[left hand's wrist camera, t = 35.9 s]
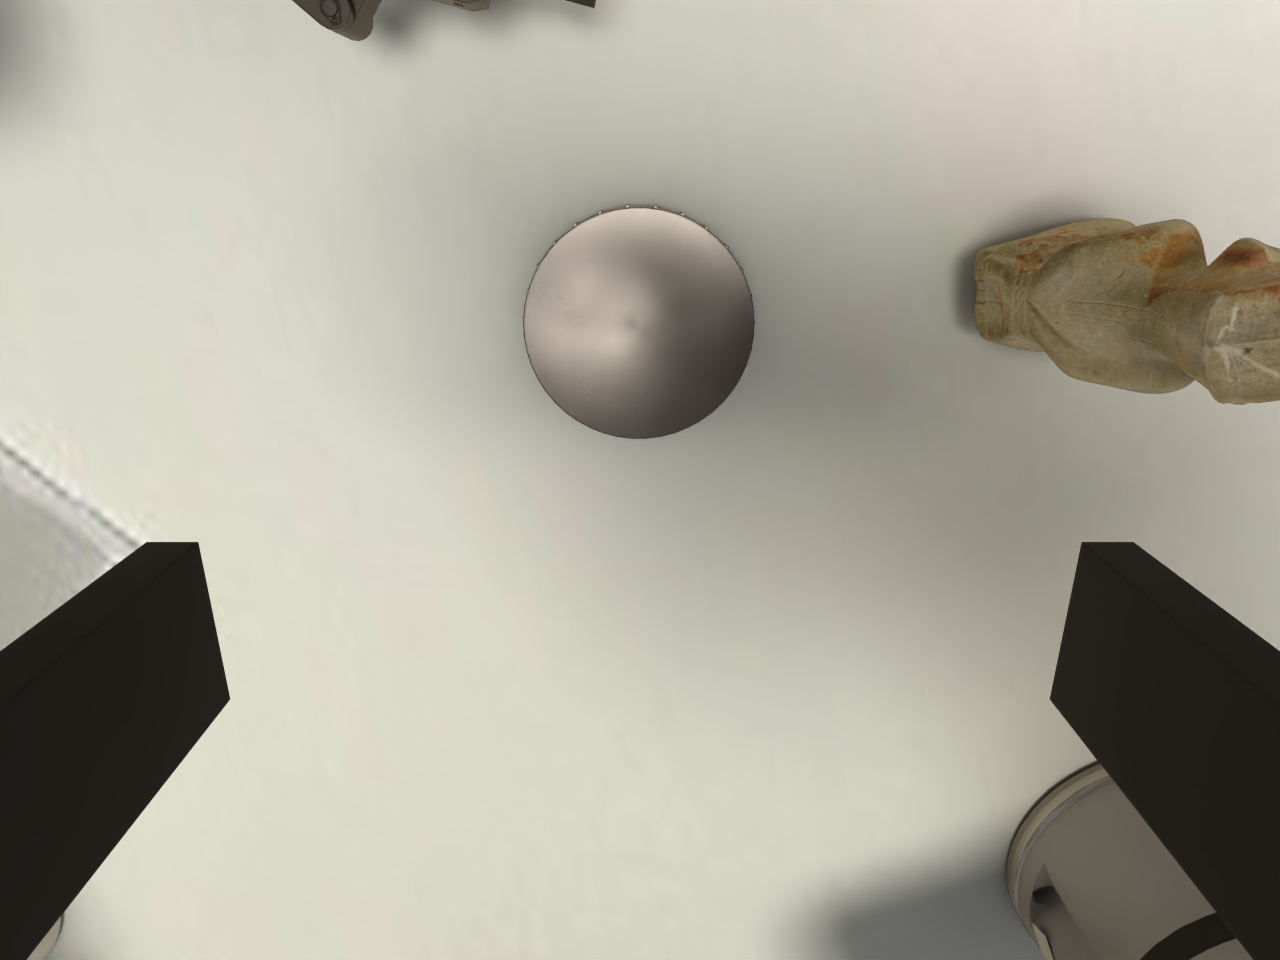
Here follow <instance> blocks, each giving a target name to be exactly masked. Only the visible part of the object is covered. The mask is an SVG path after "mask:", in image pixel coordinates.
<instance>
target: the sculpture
mask: <svg viewBox="0 0 1280 960" xmlns="http://www.w3.org/2000/svg"><path fill="white" fill-rule="evenodd" d="M974 279H975V281H976V282H977V291H976V303H975V306H974V314H975V323H976V328H977V329H978V330H979V332H980V335H981V336H982V337H983V338H984V339H986V340H988V341H991V342H994V343H998V344H1002V345H1005V346H1009V347H1013V348H1018V349H1024V350H1031V351H1045V352H1046V354H1047V355H1048V356H1049V357H1050V358H1051V359H1052V361H1053V362H1054V363H1055V364H1056V365H1057V366H1058V367H1059V368H1060V369H1061V370H1062V371H1063V372H1064V373H1065V374H1066V375H1068V376H1070V377H1073V378H1075V379H1079V380H1082V381H1086V382H1091V383H1096V384H1102V385H1106V386H1111V387H1115V388H1120V389H1125V390H1129V391H1134V392H1141V393H1149V394H1162V393H1170V392H1173V391H1177V390H1180V389H1182V388H1184V387H1186V386H1188V385H1189V384H1190V383H1192V382H1193V381H1194V380H1196V381H1198V382H1199V383H1201V384H1202V385H1203V386H1204V387H1206V388H1207V389H1208V390H1209V391H1210V393H1211V394H1212V396H1213V398H1214V399H1215V400H1216V401H1218V402H1220V403H1223V404H1224V403H1231V404H1238V405H1243V404H1247V403H1262V402H1270V401H1277V400H1280V249H1278V248H1275V247H1272V246H1268V245H1266V244H1264V243H1262V242H1260V241H1258V240H1255V239H1252V238H1242V239H1239V240H1237V241H1235V242H1234V243H1233V244H1231V245H1230V246H1229V247H1228V248H1227V249H1226V250H1225V251H1224V252H1223V253H1222V254H1221V255H1219V256H1218V257H1217V258H1216V259H1215V260H1214V261H1213V262H1212V263H1211V264H1210V265H1209V266H1207V263H1206V258H1205V253H1204V248H1203V243H1202V239H1201V237H1200V234H1199V232H1198V230H1197V229H1196V227H1195V226H1194V225H1193V224H1191V223H1190V222H1187V221H1185V220H1180V219H1174V220H1167V221H1161V222H1156V223H1151V224H1145V225H1141V226H1135V225H1133V224H1132V223H1130V222H1127V221H1124V220H1121V219H1108V218H1107V219H1091V220H1085V221H1079V222H1074V223H1070V224H1066V225H1063V226H1059V227H1055V228H1052V229H1049V230H1046V231H1043V232H1040V233H1037V234H1034V235H1031V236H1028V237H1025V238H1021V239H1018V240H1014V241H1010V242H1006V243H1002V244H999V245H994V246H990V247H987V248H984V249H982V250H980V251H978V252H977V254H976V257H975V264H974Z"/></svg>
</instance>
